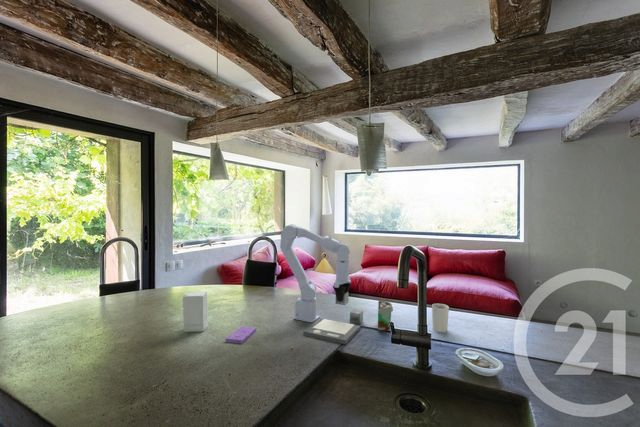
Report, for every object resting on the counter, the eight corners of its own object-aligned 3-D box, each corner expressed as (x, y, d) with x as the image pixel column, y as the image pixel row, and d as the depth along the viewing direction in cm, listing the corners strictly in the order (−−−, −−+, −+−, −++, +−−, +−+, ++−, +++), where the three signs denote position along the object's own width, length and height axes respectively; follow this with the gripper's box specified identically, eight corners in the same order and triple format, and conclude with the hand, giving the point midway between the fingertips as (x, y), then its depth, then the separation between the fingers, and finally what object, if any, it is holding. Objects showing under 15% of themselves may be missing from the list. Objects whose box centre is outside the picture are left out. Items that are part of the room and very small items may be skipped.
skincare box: (208, 326, 130) (208, 291, 130) (203, 332, 124) (203, 295, 124) (188, 326, 129) (188, 291, 129) (182, 332, 123) (182, 295, 123)
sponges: (225, 342, 115) (225, 337, 115) (240, 330, 128) (240, 325, 128) (242, 344, 114) (242, 339, 114) (256, 331, 126) (256, 327, 126)
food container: (393, 334, 124) (393, 309, 124) (377, 332, 125) (378, 308, 125) (392, 323, 136) (392, 300, 136) (378, 322, 138) (378, 299, 137)
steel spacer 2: (349, 323, 136) (350, 312, 136) (353, 320, 140) (353, 309, 140) (359, 325, 134) (359, 313, 134) (362, 321, 138) (363, 310, 138)
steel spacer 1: (335, 303, 139) (335, 292, 139) (339, 301, 143) (339, 290, 143) (344, 305, 137) (344, 294, 137) (348, 302, 141) (348, 291, 141)
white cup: (450, 333, 126) (450, 309, 125) (432, 332, 127) (433, 307, 127) (446, 327, 132) (447, 304, 132) (430, 326, 133) (430, 303, 133)
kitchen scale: (303, 335, 122) (303, 330, 122) (321, 321, 137) (321, 317, 137) (345, 344, 114) (345, 339, 114) (359, 329, 129) (359, 324, 129)
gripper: (344, 274, 131) (344, 305, 131) (356, 268, 144) (355, 297, 144) (329, 272, 134) (329, 303, 134) (342, 266, 147) (341, 295, 147)
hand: (342, 299), depth 140 cm, fingers closed on steel spacer 1, 4 cm apart
